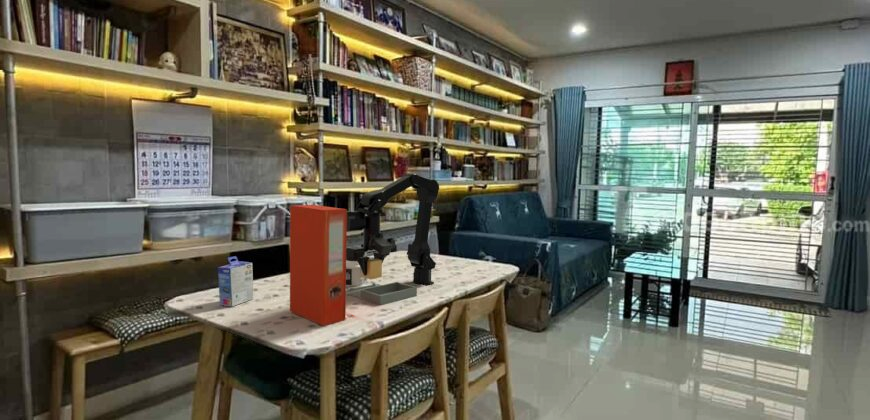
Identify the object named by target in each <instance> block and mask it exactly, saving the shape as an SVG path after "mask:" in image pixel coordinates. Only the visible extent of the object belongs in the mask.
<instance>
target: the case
mask: <svg viewBox="0 0 870 420" xmlns="http://www.w3.org/2000/svg"><path fill="white" fill-rule="evenodd" d="M380 285H381V286H376V287H372V288H367V289H363V290H361V298H360V300H363V301H366V302H370V303H372V304H376V305H377V306H383V305H387V304H390V303H395V302H399V301H402V300H406V299H410V298H414V297H417V296H418V295H417V293H418V287H416V286H414V285H409V284H406V283H403V282H399V281H394V282H391V283H385V284H380Z"/></svg>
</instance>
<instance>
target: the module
mask: <svg viewBox="0 0 870 420" xmlns="http://www.w3.org/2000/svg"><path fill="white" fill-rule="evenodd" d="M382 270H383V263H382V260H380V259H377V258H374V257H370V258H369V259H368V261H367V276H365V275H364V274H363V272H362V270H361V277H364V278H367V280H375V279H379V278H382V276H383V275H382V274H383V273H382V272H383V271H382Z"/></svg>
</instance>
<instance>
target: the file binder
mask: <svg viewBox="0 0 870 420" xmlns="http://www.w3.org/2000/svg"><path fill="white" fill-rule="evenodd" d="M289 209H290V210H289V214H290V215H289V216H290V217H289V218H290V219H289V220H290V221H289V225H290V226H289V235H290V236H289V266H290V267H289V312H292V313H293V314H296V315H298V316H300V317H303V318H305V319H307V320H309V321H312V322H314V323H316V324H318V325H321V326H326V325H331V324H335V323H339V322H343V321H345V320H346V304H347V303H346V300H347V299H346V297H347V296H346V295H347V294H346V289H347V287H346V248H347V236H348V235H347V233H348V232H347V211H348V209H346V208H340V207H339V208H338V207H332V206H324V205H319V204H318V205H316V204H298V205H297V204H295V205H290V206H289Z"/></svg>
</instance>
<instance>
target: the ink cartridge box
mask: <svg viewBox="0 0 870 420" xmlns="http://www.w3.org/2000/svg"><path fill="white" fill-rule="evenodd" d="M227 261H228V264H225V265H222V266H218V267H217V275H218V277H217V278H218V293H219V306H223V305H224V306H223V307H230V308H231V307H235V306H237V305H240V304H243V303H245V302H249V301H251V300H253V299H254V280H253V279H254V276H253V275H254V274H253V262H249V261H244V260H243V261H239V259H238V257H237V256H236V255H235V256H229V257H227Z"/></svg>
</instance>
